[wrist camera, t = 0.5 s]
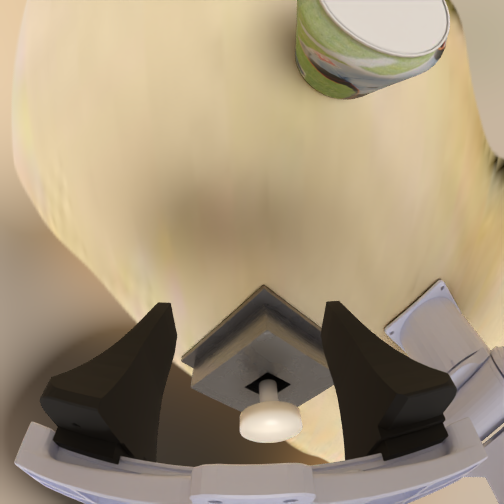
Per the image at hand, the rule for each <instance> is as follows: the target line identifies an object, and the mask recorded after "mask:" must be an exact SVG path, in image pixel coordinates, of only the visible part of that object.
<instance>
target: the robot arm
mask: <svg viewBox="0 0 504 504" xmlns="http://www.w3.org/2000/svg"><path fill="white" fill-rule="evenodd" d="M384 331H385V333H386V334H387V335H388V336H389V337H390V338H391V339H392V340H393V341H394V342H395V343H396V344H397V345H398V346H399V347H400V348H402V349H403V350H404V351H405V352H406V353H407V354H408V356H409V357H407V356H406V355H404V354H402V353H400V352H399V351H397V350H395V349H394V348H392V347H391V346H389V345H388V344H387V343H385V342H384V341H382V340H381V339H380V338H379V337H377V336H376V335H375V334H374V333H372V332H371V331H370V330H369V329H368V328H367V327H366V326H364V325H363V324H362V323H361V322H360V321H359V320H358V319H357V318H356V317H355V316H354V315H353V314H352V313H351V312H350V311H349V310H348V309H347V308H346V307H345V306H344V305H343V304H342V303H340V302H339V301H330V302H326V308H325V314H324V319H323V324H322V330H321V340H322V346H323V351H324V355H325V358H326V361H327V364H328V367H329V370H330V374H331V377H332V380H333V383H334V386H335V389H336V393H337V397H338V403H339V409H340V415H341V421H342V429H343V438H344V448H345V461H340V462H333V463H327V464H320V465H312V466H309V465H305V464H301V463H279V464H256V465H255V464H253V465H235V464H204V465H201V466H197V467H186V466H177V465H169V464H162V463H156V453H157V435H158V425H159V415H160V409H161V402H162V396H163V392H164V388H165V385H166V381H167V377H168V374H169V371H170V367H171V364H172V360H173V357H174V353H175V347H176V340H177V332H176V328H175V323H174V318H173V313H172V307H171V303H157V304H156V305H155V306H154V307H153V308H152V309H151V310H150V311H149V312H148V313H147V315H146V316H145V317H144V318H143V319H142V320H141V321H140V322H139V323H138V324H137V325H136V326H135V327H134V328H133V329H131V331H129V332H128V333H127V334H126V335H125V336H124V337H123V338H121V339H120V340H119V341H118V342H117V343H115V344H114V345H113V346H111V347H110V348H109V349H108V350H106V351H104V352H103V353H101V354H100V355H98V356H97V357H95V358H93V359H92V360H90V361H88V362H87V363H85V364H83V365H81V366H79V367H77V368H74V369H72V370H70V371H68V372H65V373H62V374H59V375H57V376H54V377H51V379H50V381H49V382H48V384H47V386H46V388H45V390H44V392H43V394H42V396H41V398H40V403H41V406H42V408H43V409H44V411H45V412H46V413H47V414H48V416H49V417H50V418H51V419H52V420H53V422H54V423H55V424H56V425H57V426H58V428H57V430H56V432H55V431H53V430H52V429H50V428H48V427H45V426H43V425H40V424H38V423H35V422H31V424H30V426H29V428H28V430H27V432H26V435H25V437H24V440H23V442H22V444H21V447H20V449H19V451H18V454H17V456H16V459H15V462H14V463H15V465H17V466H18V467H19V468H21V469H22V470H23V471H25V472H26V473H27V474H28V475H30V476H31V477H33V478H34V479H35V480H37V481H38V482H40V483H41V484H43V485H44V486H46V487H48V488H50V489H52V490H55V491H57V492H59V493H62V494H64V495H66V496H68V497H70V498H73V499H75V500H78V501H80V502H83V503H85V504H407V503H410V502H412V501H415V500H417V499H420V498H422V497H424V496H427V495H429V494H431V493H433V492H436V491H438V490H440V489H442V488H444V487H446V486H448V485H450V484H452V483H454V482H456V481H458V480H459V479H461V478H463V477H485V478H486V479H487V481H488V483H489V485H490V487H491V489H492V490H493V493H494V495H495V497H496V499H497V501H498V503H499V504H504V427H503V428H502V429H501V430H499V431H498V432H497V433H496V434H495V435H493V436H492V437H491V438H490V439H489V440H488V441H486V442H485V443H483V444H482V442H481V441H483V440H484V439H485V438H486V437H487V436H489V435H490V434H491V433H492V432H493V431H494V430H496V429H497V428H498V427H499V426H500V425H502V424H503V423H504V347H503V346H501V347H497V346H495V347H494V348H493V349H492V350H490V349H489V348H488V346H487V345H486V344H485V342H484V341H483V340H482V339H481V337H480V336H479V335H478V333H477V332H476V331H475V330H474V328H473V327H472V326H471V325H470V323H469V322H468V321H467V320H466V318H465V317H464V316H463V315H462V313H461V311H460V309H459V307H458V306H457V304H456V302H455V300H454V298H453V297H452V295H451V293H450V291H449V290H448V288H447V286H446V284H445V283H444V281H443V280H438V281H437V282H436V283H435V284H434V285H433V286H432V287H431V288H430V289H429V290H428V291H427V292H426V293H424V294H423V295H422V296H421V297H420V298H419V299H418V300H417V301H416V302H415V303H414V304H412V305H411V306H410V307H409V308H408V309H407V310H406V311H404V312H403V313H402V314H401V315H400V316H399V317H397V318H396V319H395V320H394V321H393V322H392V323H390V324H389V325H388V326H387V327H386V328H385V329H384Z"/></svg>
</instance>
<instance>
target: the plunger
mask: <svg viewBox="0 0 504 504" xmlns="http://www.w3.org/2000/svg"><path fill="white" fill-rule="evenodd" d="M259 396H260V403H256V404H253V405H251V406H249V407H247V408H245V409H244V410H243V411H242V412H241V414H240V433H241V435H242V436H243V437H244V438H246V439H248V440H251V441H254V442H261V443H272V442H280V441H284V440H287V439H290V438H292V437H294V436H296V435H297V434H298V433H300V431H301V430H302V420H301V413H300V410H299V408H298V407H297V406H295V405H293V404H291V403H288V402H283V401H278V393H277V383H276V381H274V380H271V379H266V380H263V381H261V382H260V383H259Z"/></svg>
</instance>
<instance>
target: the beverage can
mask: <svg viewBox="0 0 504 504" xmlns="http://www.w3.org/2000/svg"><path fill="white" fill-rule="evenodd" d="M449 28H450V15H449V11H448V7H447V4H446V2H445V0H297V24H296V48H295V57H296V63H297V67H298V69H299V71H300V73H301V75H302V76H303V78H304V79H305V80H306V81H307V82H308V83H309V84H310V86H312V87H313V88H314V89H316V90H317V91H319V92H320V93H322V94H324V95H327V96H329V97H332V98H337V99H355V98H359V97H362V96H364V95H367V94H369V93H372V92H374V91H377V90H379V89H382V88H384V87H387V86H389V85H392V84H395V83H397V82H400V81H403V80H406V79H408V78H411V77H414V76H417V75H419V74H421V73H423V72H426V71H427V70H428V69H430V68H431V67H432V66H434V65H435V63H436V62H437V61H438V60H439V59H440V57H441V55H442V53H443V51H444V49H445V45H446V40H447V36H448V33H449Z"/></svg>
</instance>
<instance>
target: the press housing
mask: <svg viewBox="0 0 504 504" xmlns="http://www.w3.org/2000/svg"><path fill="white" fill-rule="evenodd" d="M321 330H322V329H321V328H320V327H319V326H317V325H316V324H315V323H313V322H312V321H311V320H309V319H308V318H307V317H305V316H304V315H303V314H301V313H300V312H299V311H298V310H296V309H295V308H294V307H292V306H291V305H290V304H288V303H287V302H286V301H284V300H283V299H282V298H280V297H279V296H278V295H276V294H275V293H274V292H272V291H271V290H270V289H269V288H267V287H266V286H265V285H263V286H262V287H261V288H259V289H258V290H257V291H256V292H255V293H254V294H253V295H252V296H251V297H250V298H248V299H247V300H246V301H245V302H244V303H243V304H242V305H241V306H240V307H238V308H237V309H236V310H235V311H234V312H233V313H232V314H231V315H229V316H228V317H227V318H226V319H225V320H224V321H223V322H222V323H220V324H219V325H218V326H217V327H216V328H215V329H214V330H213V331H211V332H210V333H209V334H208V335H207V336H206V337H205V338H203V339H202V340H201V341H200V342H199V343H198V344H196V345H195V346H194V347H193V348H192V349H191V350H190V351H188V352H187V353H186V354H185V355H184V356H183V357H182V359H181V361H182V362H183V363H185V364H187V365H189V366H190V367H192V368H194V369H193V375H192V381H191V388H193V389H194V390H197V391H198V392H201V393H202V394H204V395H207V396H208V397H211V398H213V399H215V400H217V401H219V402H221V403H223V404H225V405H228V406H230V407H232V408H234V409H236V410H239V411H241V412H242V411H243V410H244V409H245V408H247V407H249V406H251V405H253V404H256V403H260V396H259V383H260V382H261V381H263V380H266V379H271V380H274V381H276V383H277V393H278V401H283V402H288V403H291V404H293V405H295V406H297V407H298V406H300V405H301V404H303V403H305V402H307V401H308V400H310V399H312V398H313V397H315V396H317V395H318V394H320V393H321V392H323V391H325V390H326V389H328V388H329V387H331V386H332V385H334V383H333V380H332V377H331V374H330V370H329V367H328V364H327V361H326V358H325V355H324V351H323V346H322V340H321Z"/></svg>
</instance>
